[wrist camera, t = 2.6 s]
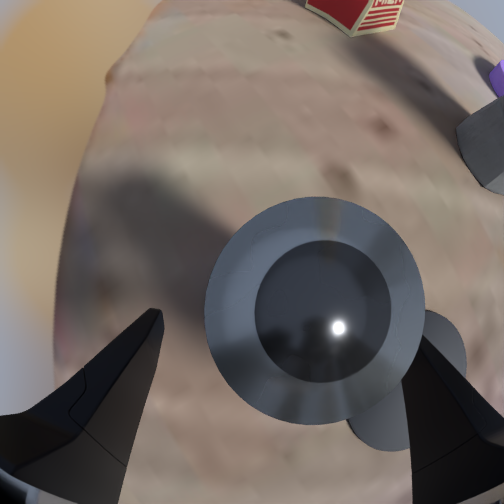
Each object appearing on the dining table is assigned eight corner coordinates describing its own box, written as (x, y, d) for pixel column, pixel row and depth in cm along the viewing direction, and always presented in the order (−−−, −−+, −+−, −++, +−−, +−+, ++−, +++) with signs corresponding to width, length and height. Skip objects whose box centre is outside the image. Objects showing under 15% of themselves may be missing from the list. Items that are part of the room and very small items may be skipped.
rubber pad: (408, 466, 16) (410, 468, 15) (313, 410, 17) (314, 412, 16) (481, 356, 18) (483, 356, 17) (405, 280, 19) (407, 280, 18)
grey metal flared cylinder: (278, 386, 17) (336, 501, 5) (192, 318, 18) (95, 330, 5) (345, 301, 18) (487, 278, 6) (262, 234, 19) (292, 109, 7)
